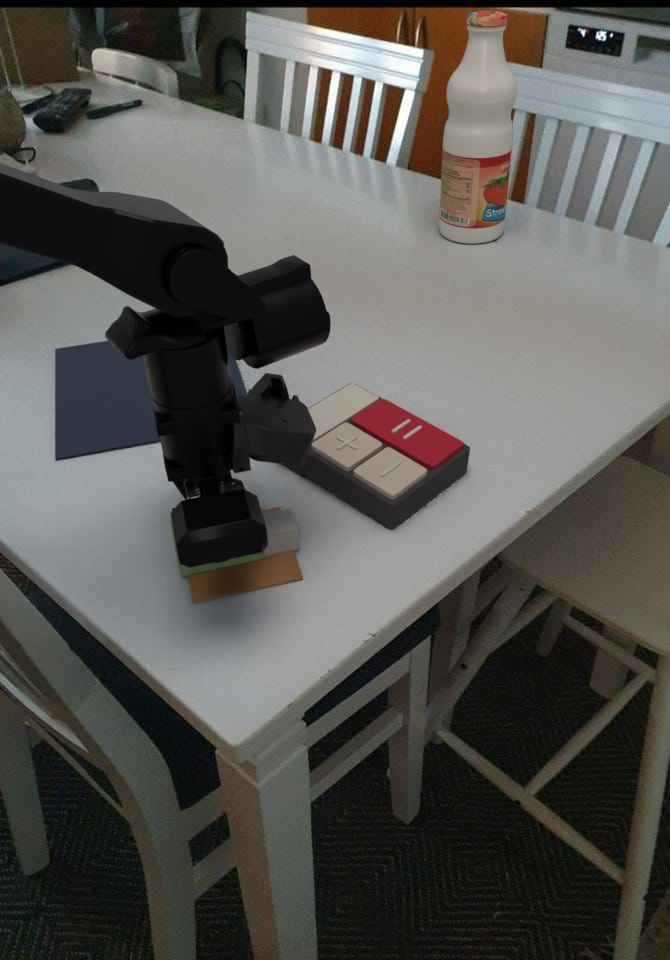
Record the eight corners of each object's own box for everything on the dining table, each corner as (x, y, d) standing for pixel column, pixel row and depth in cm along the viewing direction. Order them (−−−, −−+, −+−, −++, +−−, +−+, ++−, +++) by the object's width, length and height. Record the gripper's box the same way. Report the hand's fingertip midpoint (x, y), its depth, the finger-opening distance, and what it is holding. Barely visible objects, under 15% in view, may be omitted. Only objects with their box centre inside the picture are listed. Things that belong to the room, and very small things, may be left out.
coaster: (192, 603, 64) (191, 601, 64) (179, 529, 71) (178, 526, 70) (303, 579, 66) (302, 577, 65) (280, 509, 72) (279, 506, 72)
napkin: (55, 460, 79) (55, 458, 79) (55, 350, 95) (55, 348, 95) (257, 424, 83) (256, 421, 82) (223, 324, 99) (223, 322, 99)
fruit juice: (443, 217, 123) (455, 6, 105) (506, 222, 121) (529, 7, 103) (433, 242, 116) (443, 21, 98) (499, 247, 114) (522, 22, 96)
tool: (181, 576, 66) (174, 546, 64) (176, 550, 68) (169, 519, 66) (300, 551, 68) (298, 520, 65) (292, 526, 70) (289, 495, 68)
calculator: (393, 500, 67) (271, 422, 75) (391, 536, 70) (273, 458, 78) (473, 440, 73) (352, 374, 81) (468, 476, 76) (351, 409, 84)
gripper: (335, 442, 52) (342, 606, 61) (275, 310, 66) (289, 461, 75) (159, 475, 50) (196, 639, 59) (137, 331, 64) (169, 484, 73)
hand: (218, 546), depth 67 cm, fingers closed on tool, 3 cm apart
